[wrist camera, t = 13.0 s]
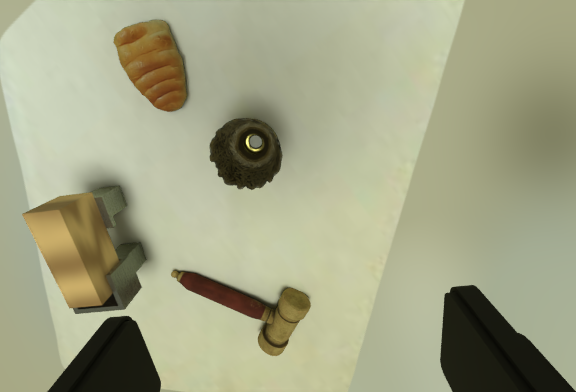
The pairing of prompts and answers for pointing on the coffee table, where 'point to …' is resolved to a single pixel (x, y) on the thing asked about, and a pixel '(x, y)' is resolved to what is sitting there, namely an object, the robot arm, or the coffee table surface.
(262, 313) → the gavel
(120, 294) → the cup bracket
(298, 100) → the coffee table surface
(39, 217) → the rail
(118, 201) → the grey tabbed slab
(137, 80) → the pastry
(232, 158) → the cup
